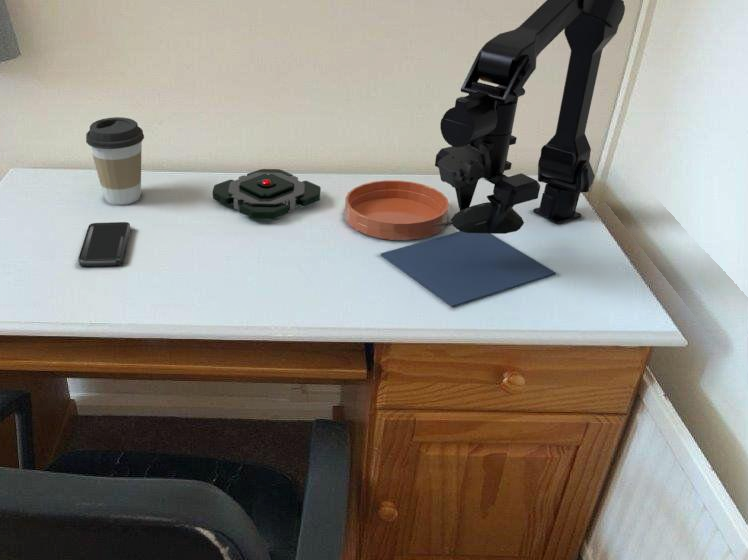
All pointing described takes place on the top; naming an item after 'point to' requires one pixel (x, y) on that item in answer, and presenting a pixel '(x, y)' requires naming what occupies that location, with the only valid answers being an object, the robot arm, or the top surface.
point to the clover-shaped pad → (266, 193)
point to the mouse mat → (466, 266)
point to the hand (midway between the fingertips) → (477, 222)
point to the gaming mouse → (483, 220)
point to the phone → (105, 244)
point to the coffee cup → (117, 158)
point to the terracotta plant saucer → (396, 210)
